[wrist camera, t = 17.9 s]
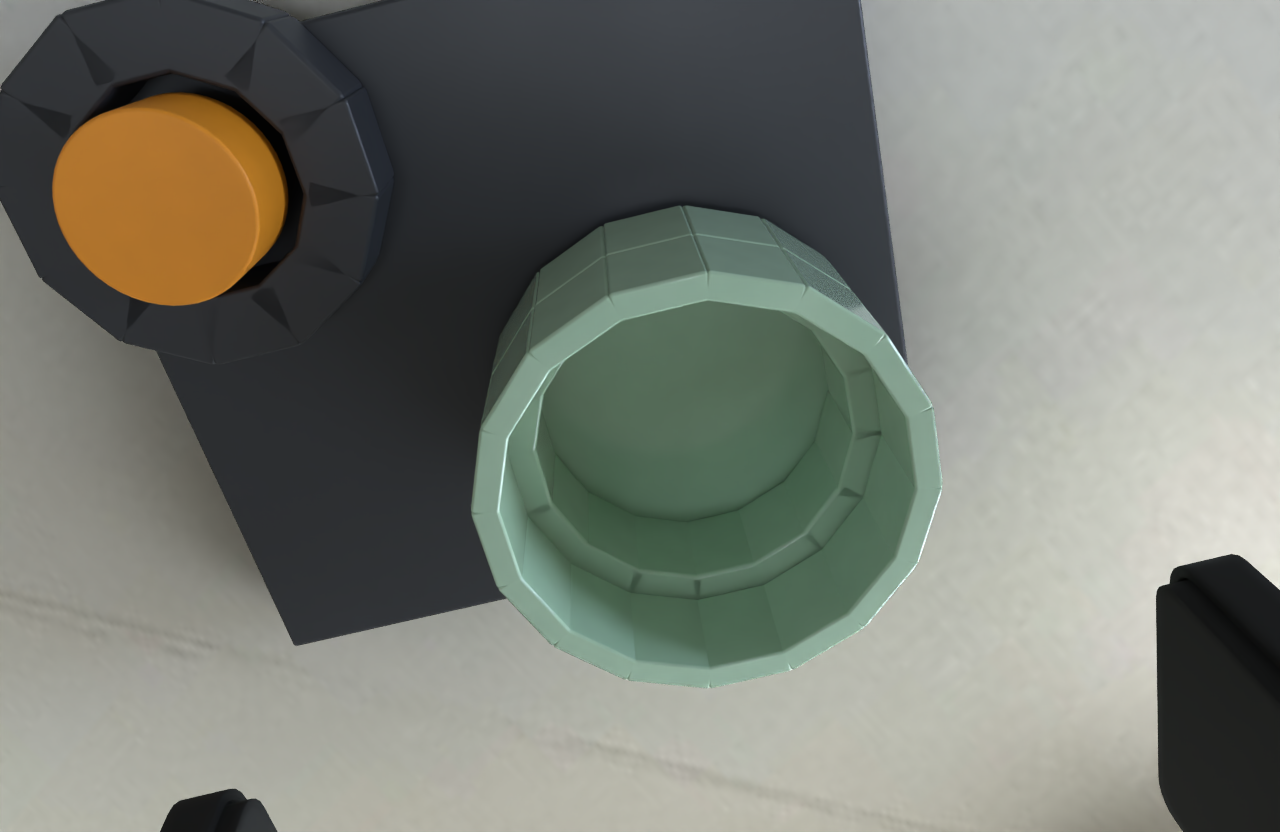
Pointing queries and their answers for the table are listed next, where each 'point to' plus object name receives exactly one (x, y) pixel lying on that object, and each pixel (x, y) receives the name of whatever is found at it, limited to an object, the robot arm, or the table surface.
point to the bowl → (700, 452)
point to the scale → (435, 231)
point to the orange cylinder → (170, 197)
